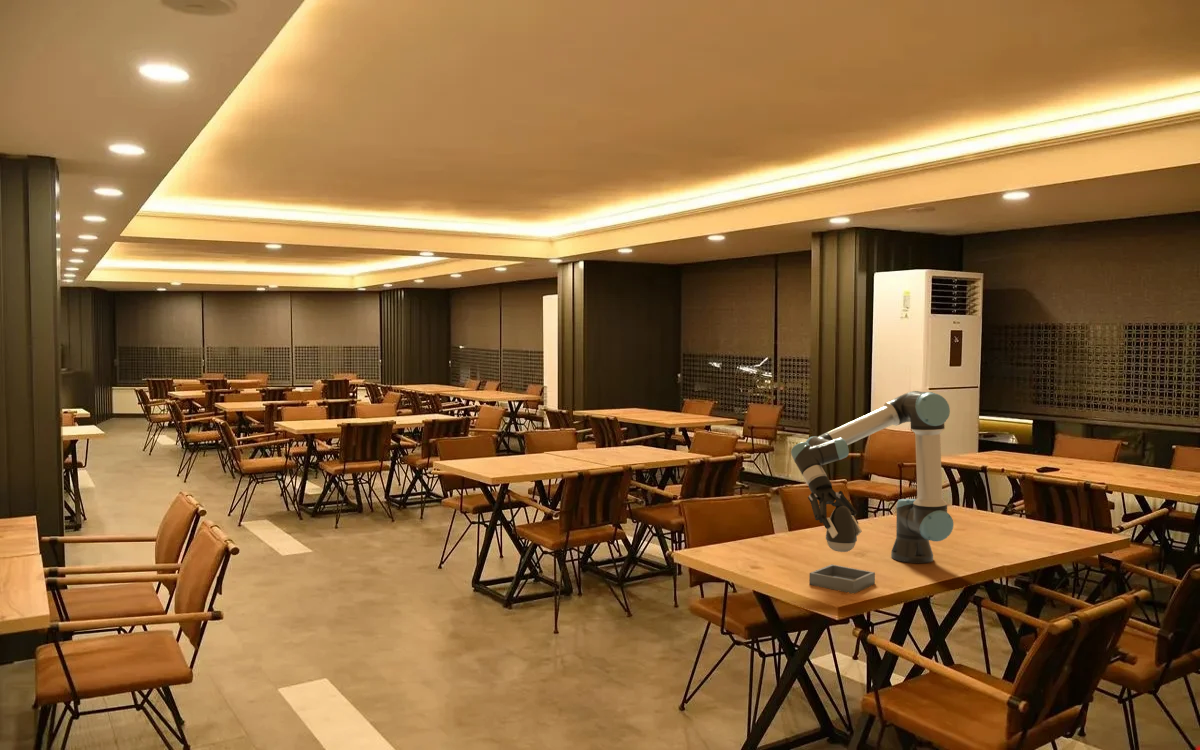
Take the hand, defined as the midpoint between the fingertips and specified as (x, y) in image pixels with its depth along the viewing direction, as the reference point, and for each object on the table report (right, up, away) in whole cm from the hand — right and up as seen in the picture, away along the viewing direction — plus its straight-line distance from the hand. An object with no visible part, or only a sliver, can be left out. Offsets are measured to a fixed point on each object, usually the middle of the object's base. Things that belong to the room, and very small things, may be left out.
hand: (847, 534), depth 286 cm
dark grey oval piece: (-1, -6, +3) cm, 7 cm away
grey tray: (-1, -18, +3) cm, 18 cm away
